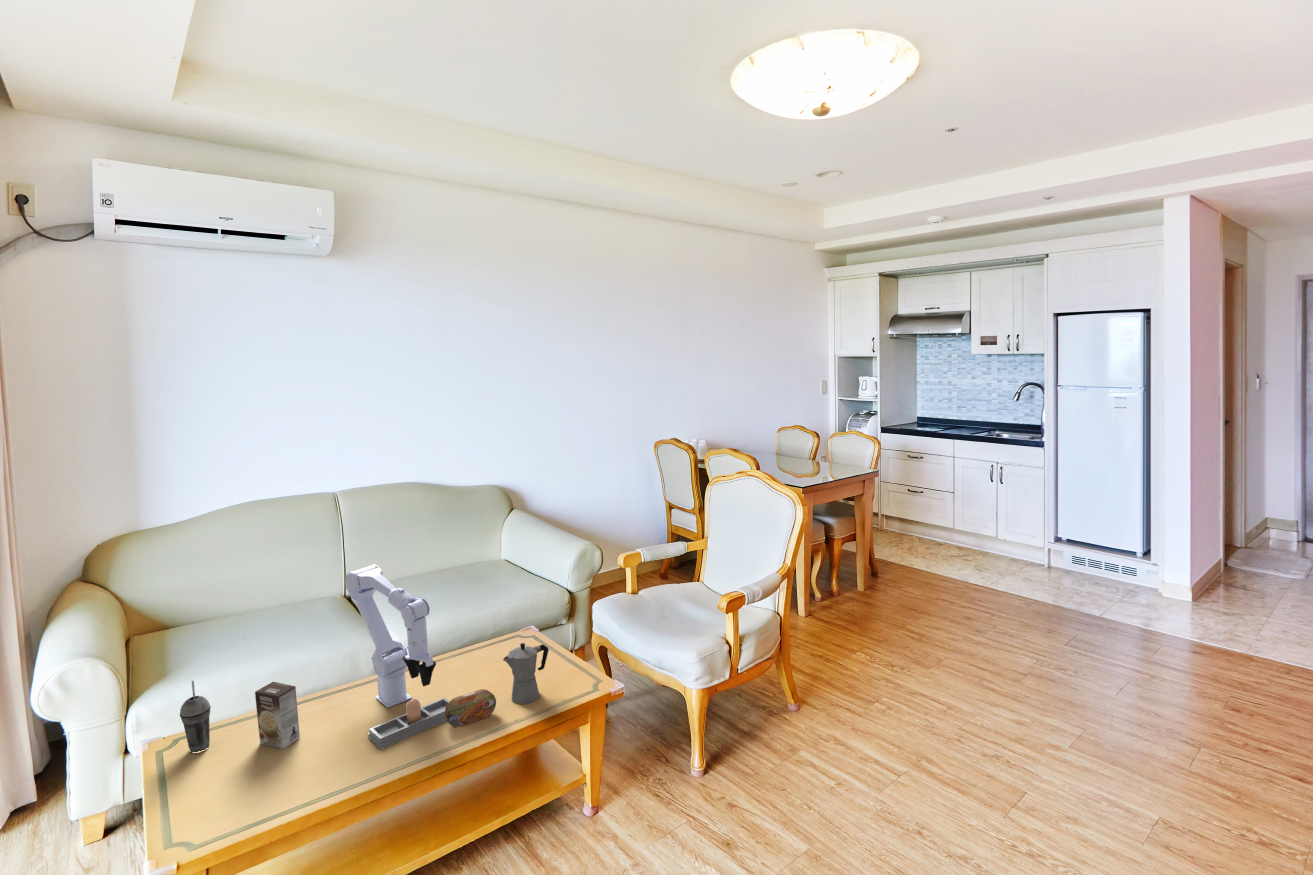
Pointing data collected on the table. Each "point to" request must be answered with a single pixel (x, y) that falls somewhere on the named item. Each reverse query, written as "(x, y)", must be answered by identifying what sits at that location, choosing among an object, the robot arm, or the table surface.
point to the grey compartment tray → (401, 730)
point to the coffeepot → (525, 672)
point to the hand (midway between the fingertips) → (420, 680)
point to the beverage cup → (196, 721)
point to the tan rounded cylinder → (413, 711)
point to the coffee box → (277, 715)
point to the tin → (470, 708)
